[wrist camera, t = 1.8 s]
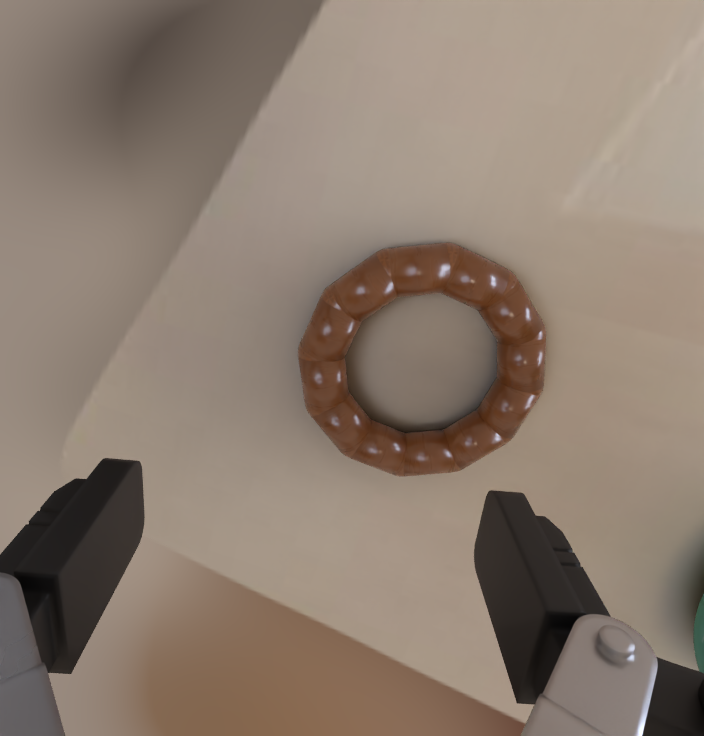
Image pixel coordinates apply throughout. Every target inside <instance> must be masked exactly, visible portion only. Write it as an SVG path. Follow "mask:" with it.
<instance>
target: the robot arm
mask: <svg viewBox="0 0 704 736" xmlns="http://www.w3.org/2000/svg"><path fill="white" fill-rule="evenodd" d="M143 528H144V498H143V478H142V466H141V463H140V462H139V461H133V460H121V459H109V458H105V459H103V460H102V461H101V462H100V463H99V464H98V465H97V467H96V468H95V469H94V470H93V472H92V473H91V474H90V475H89V477H88V478H87V479H74V480H72V481H71V482H69V483H68V484H66V485H64V486H63V487H61V488H59V489H58V490H56V491H54V493H53V494H52V495H51V496H50V497H49V498H48V500H47V501H46V502H45V503H44V504H43V506H42V507H41V509H40V511H37V513H36V514H35V515H34V516H33V517H32V518H31V520H30V521H29V524H28V525H25V526H24V528H23V529H22V530H21V531H20V532H19V533H18V535H17V536H16V537H15V538H14V539H13V541H12V542H11V543H10V544H9V545H8V546H7V547H6V549H5V550H4V551H3V552H2V553H1V555H0V736H65V733H64V730H63V726H62V723H61V719H60V716H59V712H58V708H57V705H56V701H55V697H54V694H53V690H52V686H51V683H50V679H49V675H48V673H63V674H71V673H72V671H73V669H74V667H75V665H76V663H77V661H78V659H79V657H80V656H81V654H82V652H83V650H84V648H85V646H86V644H87V642H88V640H89V638H90V637H91V634H92V633H93V631H94V629H95V627H96V625H97V623H98V621H99V619H100V617H101V616H102V614H103V612H104V610H105V608H106V606H107V604H108V602H109V601H110V599H111V597H112V595H113V593H114V591H115V589H116V587H117V585H118V583H119V581H120V579H121V578H122V576H123V574H124V572H125V570H126V568H127V566H128V564H129V562H130V561H131V558H132V557H133V555H134V553H135V551H136V549H137V547H138V545H139V543H140V540H141V537H142V533H143ZM474 562H475V569H476V573H477V576H478V580H479V583H480V586H481V589H482V592H483V596H484V599H485V602H486V605H487V608H488V612H489V615H490V618H491V621H492V624H493V628H494V631H495V634H496V637H497V641H498V644H499V647H500V650H501V653H502V657H503V660H504V663H505V666H506V669H507V673H508V676H509V679H510V682H511V685H512V689H513V692H514V695H515V698H516V702H517V703H521V704H535V705H534V707H533V709H532V712H531V714H530V716H529V718H528V720H527V723H526V725H525V727H524V729H523V731H522V734H521V736H704V673H702V672H699V671H695V670H692V669H689V668H686V667H683V666H680V665H677V664H674V663H671V662H668V661H665V660H663V659H660V658H658V657H656V655H655V653H654V651H653V649H652V647H651V646H650V645H649V643H648V642H647V641H646V640H645V639H644V638H643V637H642V635H640V634H639V633H638V632H637V631H636V630H634V629H633V628H631V627H630V626H628V625H627V624H625V623H623V622H621V621H619V620H617V619H615V618H612V617H611V616H610V614H609V613H608V611H607V609H606V607H605V606H604V604H603V602H602V600H601V599H600V597H599V595H598V593H597V592H596V590H595V588H594V586H593V585H592V583H591V581H590V579H589V578H588V576H587V574H586V572H585V571H584V569H583V567H580V562H579V560H578V558H577V557H576V555H575V553H572V548H571V546H570V544H569V543H568V541H567V539H566V537H565V536H564V534H563V532H562V531H561V530H560V529H558V528H557V527H556V526H555V525H554V524H553V523H552V522H551V521H550V520H548V519H547V518H546V517H544V516H535V514H534V512H533V510H532V508H531V506H530V504H529V502H528V500H527V499H526V497H525V495H524V494H523V493H517V492H504V491H489V492H488V494H487V496H486V500H485V504H484V508H483V512H482V516H481V521H480V525H479V529H478V533H477V538H476V542H475V549H474Z"/></svg>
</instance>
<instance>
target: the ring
mask: <svg viewBox="0 0 704 736" xmlns="http://www.w3.org/2000/svg"><path fill="white" fill-rule="evenodd" d="M436 293H442V294H444V295H446V296H449V297H451V298H453V299H455V300H457V301H459V302H462V303H464V304H466V305H468V306H470V307H472V308H475V309H477V310H478V311H479V313H480V314H481V316H482V317H483V319H484V321H485V322H486V324H487V325H488V327H489V328H490V330H491V331H492V333H493V335H494V336H495V338H496V339H497V378H496V379H495V381H494V383H493V384H492V386H491V388H490V389H489V391H488V392H487V394H486V396H485V397H484V399H483V401H482V402H481V404H480V406H479V407H478V409H477V410H475V411H474V412H472V413H470V414H469V415H467V416H465V417H464V418H462V419H460V420H459V421H457V422H455V423H454V424H452V425H450V426H449V427H447V428H445V429H444V430H434V431H423V432H412V433H403V432H400V431H398V430H395V429H393V428H391V427H388V426H386V425H383V424H381V423H378V422H376V421H373V420H371V419H370V418H369V417H368V416H367V415H366V413H365V412H364V411H363V409H362V408H361V407H360V406H359V404H358V403H357V402H356V401H355V399H354V398H353V397H352V396H351V394H350V393H349V391H348V382H347V372H346V363H345V355H346V353H347V351H348V349H349V347H350V345H351V343H352V341H353V339H354V337H355V335H356V333H357V331H358V328H359V326H360V324H361V322H362V321H363V320H365V319H366V318H368V317H369V316H371V315H372V314H374V313H375V312H377V311H378V310H379V309H381V308H382V307H384V306H385V305H387V304H388V303H390V302H391V301H393V300H394V299H396V298H397V297H405V296H415V295H426V294H436ZM545 350H546V328H545V325H544V323H543V321H542V319H541V318H540V316H539V314H538V313H537V311H536V309H535V308H534V306H533V304H532V303H531V301H530V299H529V297H528V296H527V294H526V292H525V291H524V289H523V287H522V286H521V284H520V282H519V281H518V279H517V278H516V276H515V275H514V274H513V273H512V272H511V271H510V270H508V269H506V268H504V267H502V266H500V265H498V264H496V263H494V262H491V261H489V260H487V259H485V258H483V257H481V256H479V255H477V254H475V253H473V252H471V251H469V250H466V249H464V248H462V247H460V246H458V245H456V244H453V243H438V244H428V245H417V246H407V247H397V248H387V249H382V250H380V251H378V252H376V253H375V254H373V255H372V256H370V257H369V258H367V259H366V260H365V261H363V262H362V263H360V264H359V265H358V266H356V267H355V268H353V269H352V270H351V271H349V272H348V273H346V274H345V275H344V276H342V277H341V278H339V279H338V280H336V281H335V282H334V283H332V284H331V285H329V286H328V287H327V288H326V289H325V290H324V292H323V293H322V295H321V297H320V300H319V302H318V304H317V306H316V309H315V311H314V313H313V315H312V318H311V320H310V322H309V324H308V326H307V329H306V331H305V333H304V335H303V338H302V340H301V342H300V345H299V348H298V357H299V364H300V371H301V378H302V385H303V393H304V400H305V406H306V409H307V411H308V413H309V414H310V415H311V417H312V418H313V419H314V420H315V421H316V423H317V424H318V425H319V426H320V427H321V429H322V430H323V431H324V432H325V433H326V435H327V436H328V437H329V438H330V439H331V441H332V442H333V443H334V444H335V445H336V447H337V448H338V449H339V450H340V451H341V453H343V454H344V455H345V456H347V457H349V458H351V459H354V460H357V461H359V462H362V463H364V464H367V465H369V466H372V467H375V468H377V469H380V470H382V471H385V472H388V473H390V474H393V475H395V476H414V475H426V474H437V473H449V472H457V471H460V470H462V469H464V468H465V467H467V466H469V465H470V464H472V463H474V462H476V461H477V460H479V459H481V458H483V457H484V456H486V455H488V454H489V453H491V452H493V451H495V450H496V449H498V448H500V447H501V446H503V445H505V444H506V443H508V442H509V441H510V440H511V439H512V438H513V437H514V435H515V433H516V432H517V430H518V429H519V427H520V426H521V424H522V423H523V421H524V420H525V418H526V416H527V415H528V413H529V412H530V410H531V409H532V407H533V406H534V404H535V403H536V401H537V400H538V398H539V396H540V395H541V393H542V391H543V387H544V372H545Z"/></svg>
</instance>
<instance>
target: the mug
mask: <svg viewBox="0 0 704 736" xmlns="http://www.w3.org/2000/svg"><path fill="white" fill-rule="evenodd" d="M693 635H694V650H695V656H696V661H697V664H698V668H699V671H700V672H702V673H704V594H703V596H702V598H701V600H700V603H699V606H698V609H697V613H696V617H695V622H694V633H693Z"/></svg>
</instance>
